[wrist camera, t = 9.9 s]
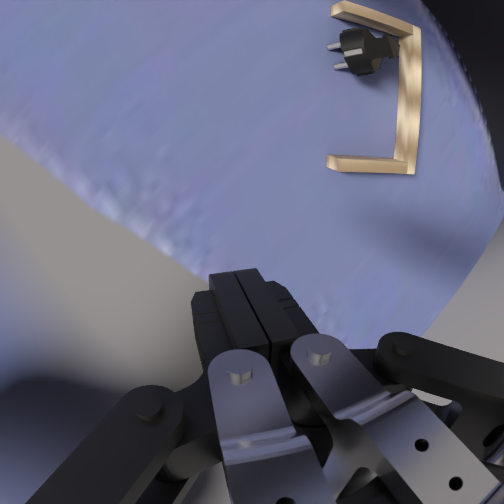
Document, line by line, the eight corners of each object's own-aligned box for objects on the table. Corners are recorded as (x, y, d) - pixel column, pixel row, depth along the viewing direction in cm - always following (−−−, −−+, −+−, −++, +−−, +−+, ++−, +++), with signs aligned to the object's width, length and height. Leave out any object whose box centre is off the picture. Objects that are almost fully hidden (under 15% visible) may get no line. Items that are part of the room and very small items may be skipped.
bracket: (330, 6, 28) (343, 0, 25) (406, 30, 31) (420, 28, 29) (326, 166, 37) (339, 171, 34) (400, 169, 40) (414, 174, 38)
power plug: (409, 64, 33) (393, 72, 26) (359, 70, 38) (328, 82, 31) (397, 25, 30) (377, 21, 23) (347, 35, 35) (312, 36, 28)
